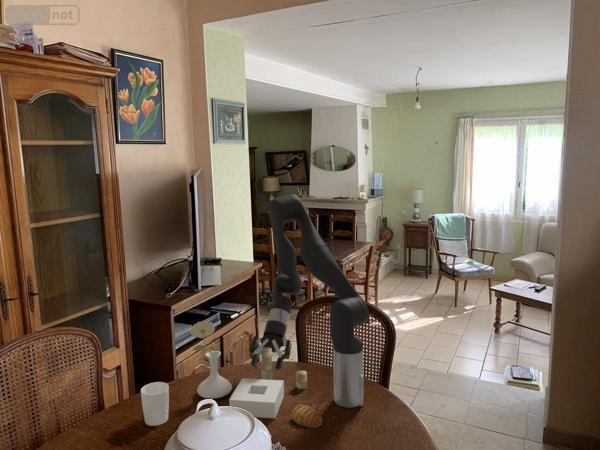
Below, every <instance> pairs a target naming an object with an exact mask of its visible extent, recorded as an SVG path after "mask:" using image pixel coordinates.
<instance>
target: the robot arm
mask: <svg viewBox="0 0 600 450" xmlns="http://www.w3.org/2000/svg"><path fill="white" fill-rule="evenodd" d="M268 215H269V219H270V220H269V221H270V224H271V229H272V233H273V234H272V235H273V238H274V243H275V249H276V263H277V270H278V272H279V273H280V274H278V275H276V276H275V278H274V281H273V301H272V304H271V308H270V311H269V314H268V315H267V321H266V323H265V328H264V331H263V335H262V337H257V336H256V335H254V336H253V338H252V342H251V344H250V346H249V349H248V352H249V353H250V354H251V356H252V358H251V362H250V364H251V366H252V367H253V368H257V364H258V360H259V357H260V356H261V348H263V347H271V348H272V353H273V354H274V353H276V354H277V356H278V357H277V360H276V363H275V371H277V372H279V371H280V370H281V369H282V365H283V362H284V360H289V359H290V356H291V352H292V351H291V350H292V345H293V344H292V342H291V341H290V339H287V340H285V337H286V334H287V330H288V329H287V328H288V326H289V321H290V315H291V310H292V307H293V306H292V305H293V301H292V299H291V298H290V297H288V296H286V295H292V296H294V295H295V296H296V295H299V293H300V292H301V291H302V288H303V285H302V283H303V282H302V279H301V276H300V273H299V271H298V270H299V269H298V267H297V252H296V248H295V246H294V245H293V243H292V242H291V240H290V239H289V238H288V237H287V235H286V234H285V232H284V231H285V230H284V225H285V224H287V223H291V222H294V221H295V223H296V224H297V226H298V228H299V231H300V244H299V245H300V246H299V252H300V257H301V259H302V261H303V263H304V265H305V266H306V268H307V270H308V271H309V273H310V274H311V275H312V276H313V277H314V278H316V279H317V280H318V281H320V282H321V283H323V284H324V285H325V286H327V287H328V288H329V289H330V290H332V292H333V293H334V294H335V296H336V297H337V298H338V300H336V301H334V302H333V303H331V306H330V309H329V327H330V329H329V330H330V338H331V339H330V340H331V341H332V345H333V401H334V403H335V404H336V405H337V406H339V407H343V408H350V409H351V408H356V407H363V405H364V342H363V341H364V340H363V339H362V338H361V337H359V336H357V335H355V331H354V328H356V327H358V326H361V325H363V324H365V323H367V321H368V320H369V314H370V313H369V308H368V306H367V304H366V302H365V300H364V299H363V297H362V296H361V295H360V294H359V292H358V291H357V290H356V288H355V287H354V286H353V285H352V283H351V282H350V280H349V279H348V278H347V276H346V275H345V273H344V272H343V270H342V269H341V267H340V266H339V264H338V263H337V261H336V259H335V257H334V256H333V254H332V252H331V251H330V249H329V247H328V246H327V244H326V243H325V242H324V240H323V238H322V237H321V235H320V233H319V232H318V230H317V229H316V227H315V225H314V223H313V221H312V220H311V217H310V216H309V213H308V212H307V209H306V208H305V205H304V204H303V202H302V200H301V198H300V197H299V196H298V195H296V194H294V193H290V194H286V195H282V196H278V197H276V198H273V199H271V200H270V201H269V204H268ZM283 294H286V295H283ZM260 343H261V344H260ZM259 344H260V345H259ZM283 346H284V349H285V350H284V353H283V352H282V350H281V348H283Z"/></svg>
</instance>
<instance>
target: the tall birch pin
mask: <svg viewBox="0 0 600 450" xmlns="http://www.w3.org/2000/svg"><path fill="white" fill-rule="evenodd" d="M272 353H273V352H272V348H271V347H263V348H261V354H260V361H261V362H260V363H261V379H265V380H273V354H272Z"/></svg>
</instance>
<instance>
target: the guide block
mask: <svg viewBox="0 0 600 450" xmlns="http://www.w3.org/2000/svg"><path fill="white" fill-rule="evenodd" d="M284 396H285V381H284V380H283V379H282V380H280V379H277V380H276V379H272V380H265V379H262V378H261V379H260V378H245V377H244V378H241V380H240V381H239V383H238V385H237V386H236V388H235V390H234V391H233V392H232V394H231V396H230V398H229V399H228V400H229V401H228V402H229V405H228V407H229V406H232V407H239V408H242V409H245V410H248V411H249V412H251V413H252V414H253V415H254V416H255V417H254V418H262V419H263V418H264V419H267V418H268V419H276V417H277V415H278V412H279V410H280V407H281V404H282V402H283V399H284Z"/></svg>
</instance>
